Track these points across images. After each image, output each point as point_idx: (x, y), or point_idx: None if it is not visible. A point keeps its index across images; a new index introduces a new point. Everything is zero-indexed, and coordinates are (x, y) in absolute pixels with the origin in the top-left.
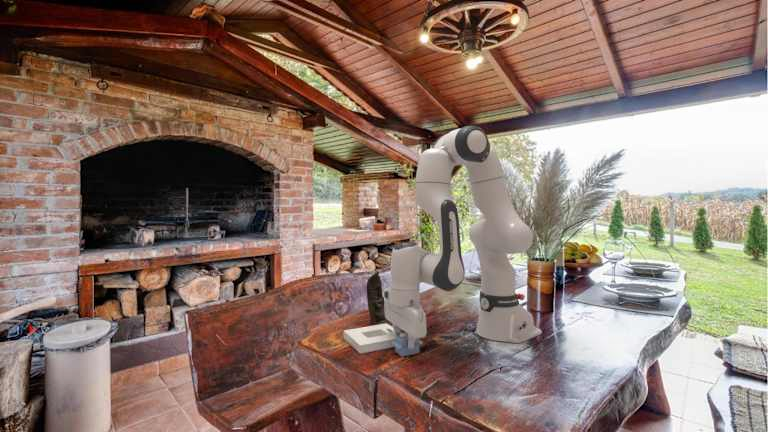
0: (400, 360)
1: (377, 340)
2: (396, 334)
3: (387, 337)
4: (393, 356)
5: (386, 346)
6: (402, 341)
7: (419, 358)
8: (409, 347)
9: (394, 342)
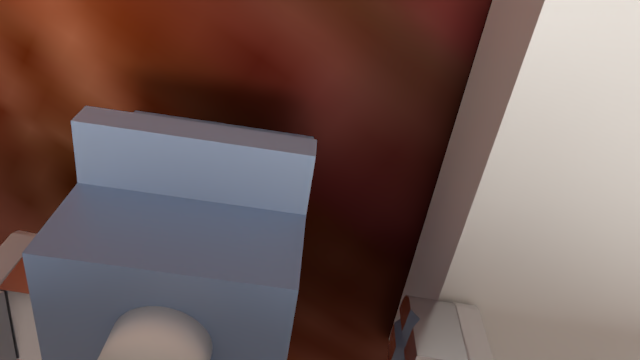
0: (26, 22)
1: (614, 29)
2: (420, 346)
3: (569, 238)
4: (185, 23)
5: (466, 114)
6: (41, 239)
7: (6, 228)
8: (10, 241)
9: (273, 183)
